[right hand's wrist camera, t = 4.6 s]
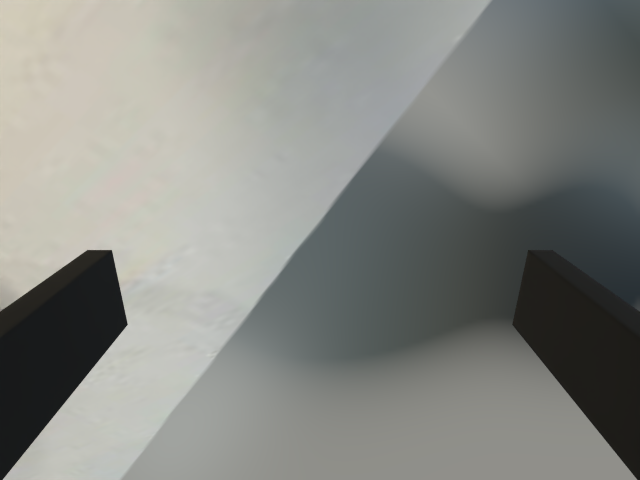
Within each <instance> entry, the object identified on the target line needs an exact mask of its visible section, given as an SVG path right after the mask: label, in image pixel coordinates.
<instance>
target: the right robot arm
mask: <svg viewBox="0 0 640 480" xmlns="http://www.w3.org/2000/svg"><path fill="white" fill-rule="evenodd" d="M127 325H128V324H127V319H126V315H125V310H124V305H123V301H122V296H121V291H120V287H119V282H118V277H117V272H116V268H115V263H114V258H113V254H112V250H87V251H86V252H84V253H83V254H81V255H80V256H79V257H77V258H76V259H74V260H73V261H71V262H70V263H69V264H67V265H66V266H64V267H63V268H62V269H60V270H59V271H57V272H56V273H54V274H53V275H52V276H50V277H49V278H47V279H46V280H45V281H43V282H42V283H40V284H39V285H37V286H36V287H35V288H33V289H32V290H30V291H29V292H28V293H26V294H25V295H23V296H22V297H20V298H19V299H18V300H16V301H15V302H13V303H12V304H11V305H9V306H8V307H6V308H5V309H3V310H2V311H1V312H0V480H3V478H4V477H5V476H6V475H7V473H8V472H9V471H10V470H11V469H12V467H13V466H14V465H15V464H16V462H17V461H18V460H19V459H20V457H21V456H22V455H23V454H24V452H25V451H26V450H27V449H28V447H29V446H30V445H31V444H32V443H33V441H34V440H35V439H36V438H37V436H38V435H39V434H40V433H41V431H42V430H43V429H44V428H45V426H46V425H47V424H48V423H49V421H50V420H51V419H52V418H53V416H54V415H55V414H56V413H57V412H58V410H59V409H60V408H61V407H62V405H63V404H64V403H65V402H66V400H67V399H68V398H69V397H70V395H71V394H72V393H73V392H74V390H75V389H76V388H77V387H78V385H79V384H80V383H81V382H82V381H83V379H84V378H85V377H86V376H87V374H88V373H89V372H90V371H91V369H92V368H93V367H94V366H95V364H96V363H97V362H98V361H99V359H100V358H101V357H102V356H103V355H104V353H105V352H106V351H107V350H108V348H109V347H110V346H111V345H112V343H113V342H114V341H115V340H116V338H117V337H118V336H119V335H120V333H121V332H122V331H123V330H124V328H125V327H126V326H127ZM513 326H514V327H515V328H516V330H517V331H518V332H519V333H520V335H521V336H522V337H523V338H524V340H525V341H526V342H527V343H528V345H529V346H530V347H531V348H532V350H533V351H534V352H535V353H536V355H537V356H538V357H539V358H540V359H541V361H542V362H543V363H544V364H545V366H546V367H547V368H548V369H549V371H550V372H551V373H552V374H553V376H554V377H555V378H556V379H557V381H558V382H559V383H560V384H561V385H562V387H563V388H564V389H565V390H566V392H567V393H568V394H569V395H570V397H571V398H572V399H573V400H574V402H575V403H576V404H577V405H578V407H579V408H580V409H581V410H582V412H583V413H584V414H585V415H586V416H587V418H588V419H589V420H590V421H591V423H592V424H593V425H594V426H595V428H596V429H597V430H598V431H599V433H600V434H601V435H602V436H603V437H604V439H605V440H606V441H607V442H608V444H609V445H610V446H611V447H612V449H613V450H614V451H615V452H616V454H617V455H618V456H619V457H620V459H621V460H622V461H623V462H624V464H625V465H626V466H627V467H628V468H629V470H630V471H631V472H632V473H633V475H634V476H635V477H636V478H637V480H640V312H639V311H638V310H637V309H635V308H634V307H632V306H631V305H629V304H628V303H627V302H625V301H624V300H622V299H621V298H620V297H618V296H617V295H615V294H614V293H612V292H611V291H610V290H608V289H607V288H605V287H604V286H602V285H601V284H600V283H598V282H597V281H595V280H594V279H593V278H591V277H590V276H588V275H587V274H586V273H584V272H583V271H581V270H580V269H578V268H577V267H576V266H574V265H573V264H571V263H570V262H569V261H567V260H566V259H564V258H563V257H561V256H560V255H559V254H557V253H556V252H554V251H553V250H528V254H527V258H526V263H525V268H524V272H523V277H522V282H521V287H520V292H519V296H518V301H517V305H516V310H515V315H514V319H513Z"/></svg>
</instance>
